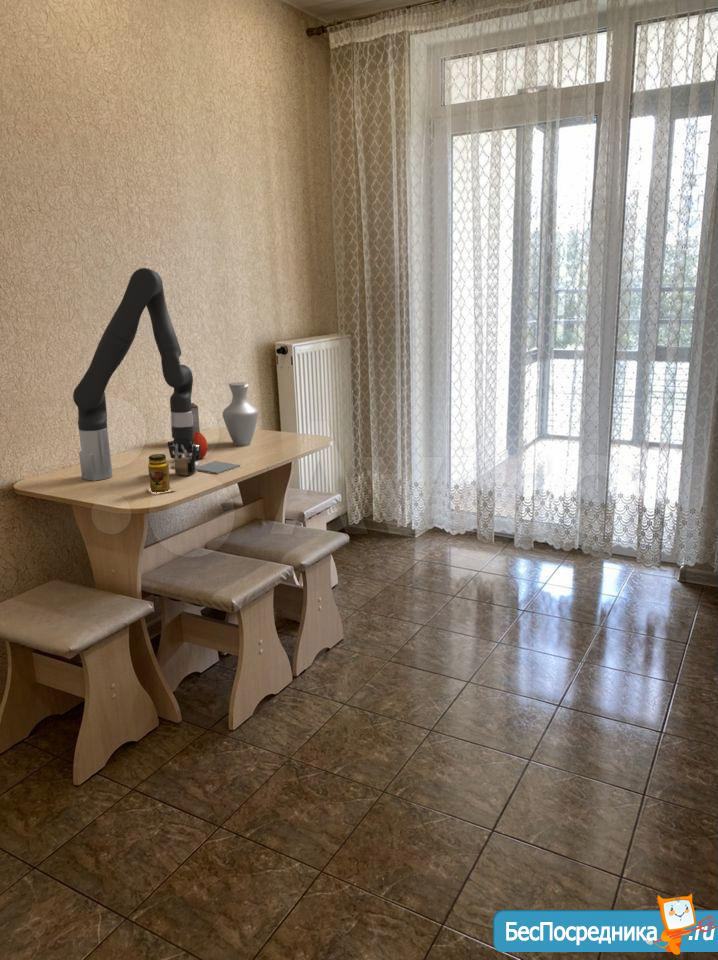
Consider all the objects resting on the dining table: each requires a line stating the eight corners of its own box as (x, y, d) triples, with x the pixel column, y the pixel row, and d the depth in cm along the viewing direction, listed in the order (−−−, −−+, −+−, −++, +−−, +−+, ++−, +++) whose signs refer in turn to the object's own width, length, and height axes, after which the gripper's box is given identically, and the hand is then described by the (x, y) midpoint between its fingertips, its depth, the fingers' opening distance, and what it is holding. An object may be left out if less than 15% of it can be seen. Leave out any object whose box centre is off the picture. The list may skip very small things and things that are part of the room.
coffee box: (180, 441, 299) (177, 403, 295) (196, 440, 302) (193, 402, 297) (185, 446, 291) (182, 407, 287) (201, 444, 294) (198, 405, 289)
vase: (263, 440, 299) (261, 381, 293) (254, 448, 286) (251, 386, 279) (230, 439, 301) (227, 380, 294) (219, 447, 288) (215, 386, 281)
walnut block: (185, 475, 247) (184, 461, 245) (175, 473, 249) (174, 459, 248) (196, 472, 251) (195, 458, 249) (185, 470, 253) (184, 456, 252)
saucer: (186, 470, 255) (186, 467, 255) (168, 467, 259) (168, 463, 259) (204, 464, 262) (203, 461, 262) (186, 461, 267) (185, 458, 266)
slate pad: (217, 474, 249) (217, 472, 249) (192, 469, 255) (192, 468, 255) (240, 466, 259) (240, 465, 259) (215, 462, 265) (215, 460, 265)
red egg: (203, 461, 266) (201, 433, 263) (182, 461, 268) (180, 433, 265) (212, 456, 274) (210, 429, 271) (192, 455, 276) (189, 428, 273)
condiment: (153, 496, 226) (150, 459, 223) (144, 489, 233) (141, 454, 229) (175, 491, 230) (172, 455, 226) (166, 485, 237) (163, 450, 233)
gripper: (159, 423, 246) (163, 471, 250) (189, 428, 238) (193, 477, 243) (175, 420, 252) (178, 466, 257) (205, 424, 245) (208, 472, 249)
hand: (185, 471), depth 250 cm, fingers closed on walnut block, 5 cm apart
